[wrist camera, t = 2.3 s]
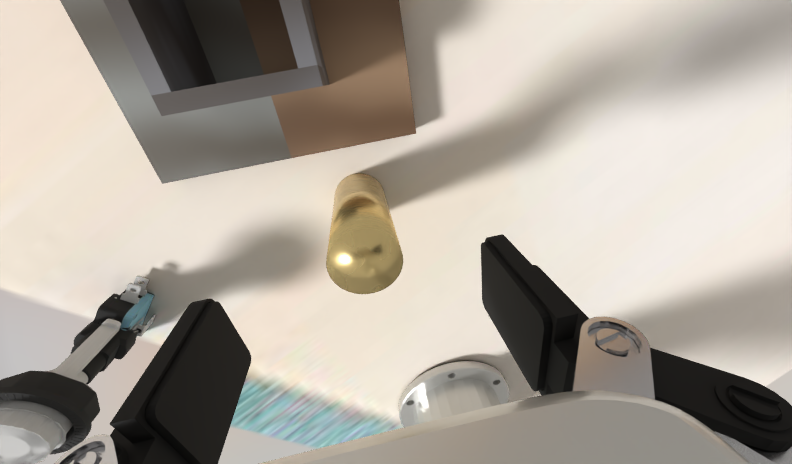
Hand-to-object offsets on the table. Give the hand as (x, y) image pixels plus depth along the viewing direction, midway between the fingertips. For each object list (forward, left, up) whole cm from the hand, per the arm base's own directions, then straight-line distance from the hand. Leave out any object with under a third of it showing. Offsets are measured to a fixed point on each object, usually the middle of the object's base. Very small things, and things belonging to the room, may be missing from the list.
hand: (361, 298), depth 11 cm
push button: (-6, +19, -13) cm, 23 cm away
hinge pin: (-1, 0, -12) cm, 12 cm away
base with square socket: (+10, +3, -12) cm, 16 cm away
